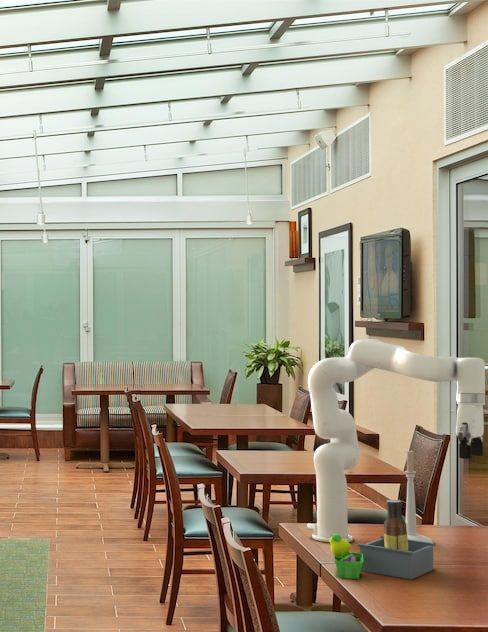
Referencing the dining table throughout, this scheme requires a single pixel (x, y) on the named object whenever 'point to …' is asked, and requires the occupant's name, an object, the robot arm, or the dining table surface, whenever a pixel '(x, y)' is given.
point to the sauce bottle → (395, 527)
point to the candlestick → (412, 503)
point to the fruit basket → (345, 558)
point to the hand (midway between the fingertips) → (471, 456)
